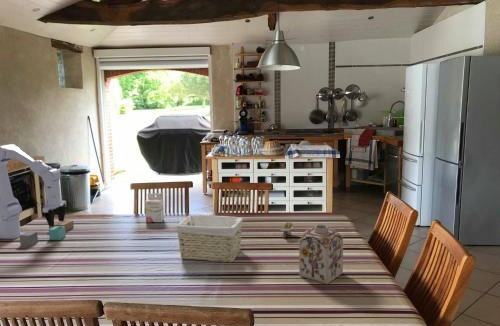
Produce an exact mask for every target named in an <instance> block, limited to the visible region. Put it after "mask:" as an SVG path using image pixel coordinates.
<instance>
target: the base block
mask: <svg viewBox="0 0 500 326" xmlns="http://www.w3.org/2000/svg"><path fill="white" fill-rule="evenodd" d="M55 226H64V227H65V233H66V232H68V231H70V230H72V229H73V228H74V227H75V225H74V220H71V219H69V220H67V219H64V221H59V219H57V220H56V221H54V226H49V225H48V230H49V229H51V228H53V227H55Z"/></svg>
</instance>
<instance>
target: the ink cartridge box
mask: <svg viewBox="0 0 500 326" xmlns="http://www.w3.org/2000/svg"><path fill="white" fill-rule="evenodd" d="M144 205H145V207H144V211H145V223H147V224H148V223H150V224H152V223H151V222H162V221H163V220H164V221H165V213H164V212H165V211H164V210H165V209H164V197H163V193H158V192H157V193H156V192H155V193H147V199H146V200H144ZM164 221H163V222H164ZM163 222H162V223H163Z"/></svg>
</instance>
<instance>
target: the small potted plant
mask: <svg viewBox="0 0 500 326" xmlns="http://www.w3.org/2000/svg"><path fill="white" fill-rule="evenodd" d="M294 225H295V224H293V223H292V221H289V220H288V221H286V222H285V224H283V226H282V227H281V228H280V231H282V234H283V239H285V238H286V237H287V236H292V228H293V227H294Z"/></svg>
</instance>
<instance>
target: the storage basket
mask: <svg viewBox="0 0 500 326" xmlns="http://www.w3.org/2000/svg"><path fill="white" fill-rule="evenodd" d="M243 222H244V221H243V217H238V216H228V215H226V216H225V215H208V214H189V215H188V216H186V217H185V218H183V219H182V220H181V221H180V222H179V223H178V224H177V225H176V228H175V229H176V231H175V232H177V238H178V245H179V253H180V258H181V259H182V260H183V259H184V260H194V261H195V260H197V261H208V262H222V263H223V262H224V263H233V262H234V260H236V258H237V256H238V255H239V253H240V251H241V242H242V225H243V224H244V223H243Z"/></svg>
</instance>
